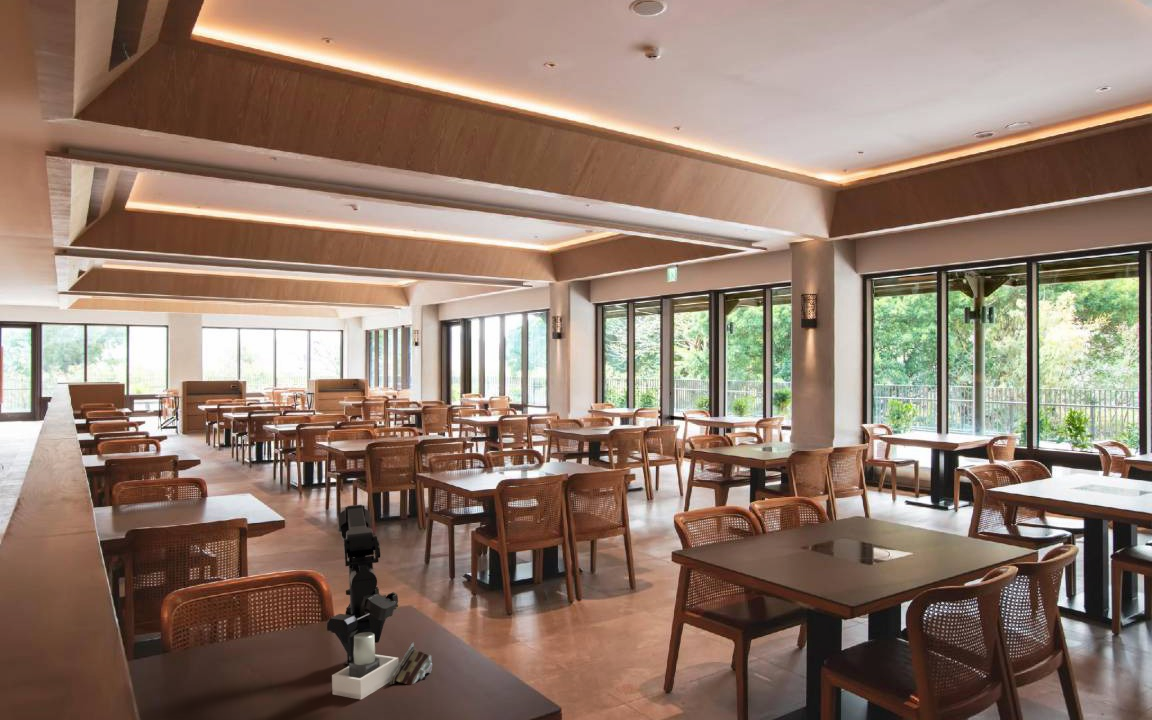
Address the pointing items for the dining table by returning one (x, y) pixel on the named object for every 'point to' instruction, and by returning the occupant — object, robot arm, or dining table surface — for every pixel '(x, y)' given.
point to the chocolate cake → (412, 667)
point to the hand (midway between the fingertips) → (364, 649)
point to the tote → (364, 679)
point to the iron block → (362, 668)
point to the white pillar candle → (364, 648)
